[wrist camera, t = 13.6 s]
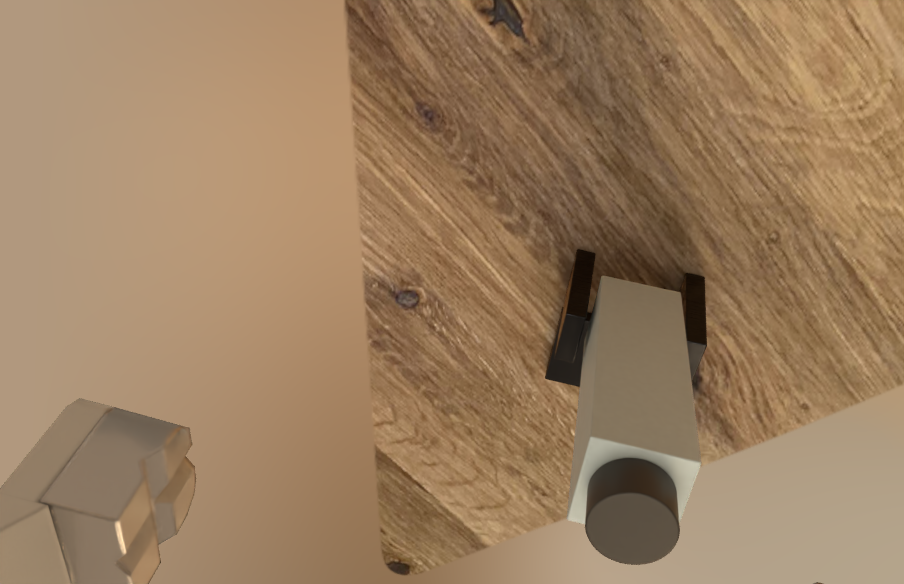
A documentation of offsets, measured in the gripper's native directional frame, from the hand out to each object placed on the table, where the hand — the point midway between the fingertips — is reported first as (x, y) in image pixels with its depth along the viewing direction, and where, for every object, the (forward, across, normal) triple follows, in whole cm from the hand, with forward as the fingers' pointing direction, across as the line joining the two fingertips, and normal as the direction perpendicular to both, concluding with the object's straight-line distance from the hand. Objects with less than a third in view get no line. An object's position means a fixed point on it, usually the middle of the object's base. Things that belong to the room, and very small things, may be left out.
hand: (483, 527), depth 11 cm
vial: (+21, -5, +14) cm, 26 cm away
